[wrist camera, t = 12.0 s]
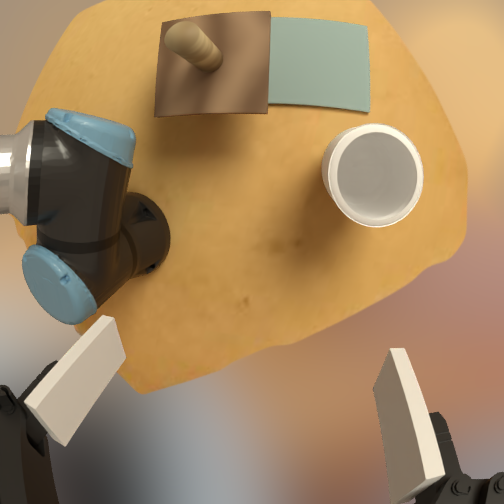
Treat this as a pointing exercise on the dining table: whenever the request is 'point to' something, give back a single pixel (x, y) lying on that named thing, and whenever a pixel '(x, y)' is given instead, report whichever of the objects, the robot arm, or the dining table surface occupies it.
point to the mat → (319, 63)
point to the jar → (373, 174)
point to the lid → (214, 65)
